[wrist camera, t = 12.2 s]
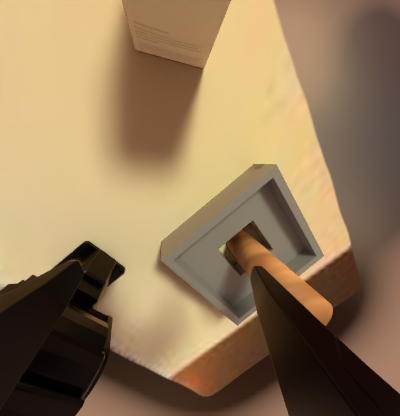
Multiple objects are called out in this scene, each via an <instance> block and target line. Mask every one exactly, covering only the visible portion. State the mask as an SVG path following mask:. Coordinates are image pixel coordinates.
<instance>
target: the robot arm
mask: <svg viewBox="0 0 400 416" xmlns="http://www.w3.org/2000/svg"><path fill="white" fill-rule="evenodd" d="M85 244H86V245H88V246H85ZM120 269H121V270H122V271H121V270H120ZM124 271H125V267H124V266H122V265H121V264H119V263H118V262H117V261H116V260H115V259H113V258H112V257H111V256H109V255H108V254H106V253H105V252H104V251H102V250H100V249H99V248H98V247H96V246H95V245H94V244H92V243H91V242H89V241H85V242H83V243H82V244H81V245H80V246H79V247H77V248H76V249H75V250H74V251H73V252H72V253H70V254H69V255H68V256H67V257H66V258H64V259H63V260H62V261H61V262H60V263H58V264H57V265H56V266H55V267H54V268H53V269H51V270H50V271H48V272H46V273H44V274H42V275H40V276H38V277H37V276H35V275H32V276H31V277H30V278H28V279H27V280H26V281H24V280H22V281H21V282H19V283H18V284H8V285H7V286H6V287H4V288H3V289H2V290H1V291H0V416H75V415H76V414H77V413H78V411H79V410H80V409H81V408H82V406H83V404H84V401H85V399H86V397H87V396H88V395H89V394H90V392H91V391H92V389H93V388H94V386H95V384H96V383H97V381H98V379H99V377H100V375H101V373H102V371H103V369H104V367H105V364H106V362H107V359H108V355H109V350H110V339H111V328H112V317H111V316H109V315H107V316H106V315H104V314H102V313H101V312H99V311H97V310H96V308H97V306H98V304H99V302H100V300H101V297H102V295H103V293H104V291H105V289H106V287H107V286H109V285H110V284H111V283H112V282H113V281H114V280H116V279H117V278H118V277H119V276H120V275H122V274H123V273H124ZM250 281H251V286H252V291H253V295H254V300H255V305H256V310H257V314H258V317H259V321H260V324H261V327H262V330H263V334H264V337H265V340H266V343H267V346H268V350H269V353H270V356H271V359H272V362H273V366H274V369H275V372H276V376H277V379H278V382H279V385H280V388H281V392H282V395H283V398H284V401H285V404H286V408H287V411H288V414H289V416H400V394H399V393H398V392H397V391H396V390H395V389H393V388H392V387H391V386H390V385H389V384H388V383H387V382H386V381H384V380H383V379H382V378H381V377H380V376H379V375H377V374H376V373H375V372H374V371H373V370H372V369H371V368H370V367H368V366H367V365H366V364H365V363H364V362H363V361H362V360H361V359H360V358H359V357H358V356H356V355H355V354H354V353H353V352H352V351H351V350H350V349H349V348H348V347H347V346H346V345H345V344H344V343H343V342H341V341H340V340H339V339H338V338H337V337H335V335H334V334H333V333H332V332H331V331H330V330H329V329H328V328H327V327H326V326H325V325H324V324H322V323H321V322H320V321H319V320H318V319H317V318H316V317H315V316H314V315H313V314H312V313H311V312H310V311H309V310H308V309H307V308H306V307H305V306H304V305H302V304H301V303H300V302H299V301H298V300H297V299H296V298H295V297H294V296H293V295H292V294H291V293H290V292H289V291H288V290H287V289H286V288H285V287H284V286H282V285H281V284H280V283H279V282H278V281H277V280H276V279H275V278H274V277H273V276H272V275H271V274H270V273H269V272H268V271H267V270H266V269H265V268H263V267H262V266H253V269H252V272H251V276H250Z"/></svg>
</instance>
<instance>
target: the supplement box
mask: <svg viewBox="0 0 400 416" xmlns="http://www.w3.org/2000/svg"><path fill="white" fill-rule="evenodd" d="M230 1H231V0H122V2H123V6H124V10H125V13H126V17H127V21H128V25H129V29H130V32H131V36H132V40H133V43H134V48H135V49H136V50H138V51H142V52H145V53H148V54H152V55H156V56H160V57H163V58H167V59H170V60H174V61H178V62H182V63H185V64H189V65H193V66H196V67H201V68H204V67H205V65H206V62H207V60H208V57H209V55H210V52H211V50H212V47H213V44H214V42H215V39H216V37H217V34H218V32H219V29H220V27H221V24H222V22H223V19H224V17H225V14H226V11H227V9H228V6H229V4H230Z"/></svg>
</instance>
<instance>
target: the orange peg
mask: <svg viewBox="0 0 400 416" xmlns="http://www.w3.org/2000/svg"><path fill="white" fill-rule="evenodd" d="M227 247H228V249H229V250H230V251H231V253H232V254H233V256H234V257H235V258H236V260H237V261H238V262H239V264H240V265H241V267H242V268H243V269H244V271H245V272H246V273H247V275H248V276H249V278H250V276H251V272H252V269H253V266H262V267H263V268H265V269H266V270H267V271H268V272H269V273H270V274H271V275H272V276H273V277H274V278H275V279H276V280H277V281H278V282H279V283H280V284H281V285H282V286H284V287H285V288H286V289H287V290H288V291H289V292H290V293H291V294H292V295H293V296H294V297H295V298H296V299H297V300H298V301H299V302H300V303H301V304H302V305H304V306H305V307H306V308H307V309H308V310H309V311H310V312H311V313H312V314H313V315H314V316H315V317H316V318H317V319H318V320H319V321H320V322H321V323H322V324H324V325H325V326H326V325H327V323H328V322H329V320H330V318H331V316H332V313H333V308H332V305H331V304H330V303H329V302H328V301H327V300H325V299H324V298H323V297H322V296H321V295H320V294H318V293H317V292H316V291H315V290H314V289H313V288H311V287H310V286H309V285H308V284H307V283H306V282H304V281H303V280H302V279H301V278H300V277H299V276H297V275H296V274H295V273H294V272H293V271H292V270H290V269H289V268H288V267H287V266H286V265H285V264H283V263H282V262H281V261H280V260H279V259H278V258H276V257H275V256H274V255H273V254H272V253H271V252H269V251H268V250H267V249H266V248H265V247H264V246H262V245H261V244H260V243H259V242H258V241H257V240H255V239H254V238H253V237H252V236H251V235H250V234H248V233H247V232H246V231H244V230H240V231H239V232H238V233H237V234H236V235H234V236H233V237H232V238H231V239H229V240H228V241H227Z"/></svg>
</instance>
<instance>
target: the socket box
mask: <svg viewBox="0 0 400 416" xmlns="http://www.w3.org/2000/svg"><path fill="white" fill-rule="evenodd" d="M249 223H251V225H252V226H253V227H254V229H255V230H256V232H257V233H258V234H259V236H260V237H261V239H262V240H263V242H262V243H261V245H262V246H264V247H265V248H266V249H267V250H268V251H269V252H271V253H272V254H273V255H274V256H275V257H276V258H278V259H279V260H280V261H281V262H282V263H283V264H285V265H286V266H287V267H288V268H289V269H290V270H292V271H293V272H294V273H295V274H296V275H297V276H300V275H301V274H302V273H303V272H305V271H306V270H307V269H308V268H310V267H311V266H312V265H313V264H314V263H316V262H317V261H318V260H319V259H321V258H322V257H323V256H324V255H323V253H322V251H321V249H320V247H319V245H318V243H317V242H316V240H315V238H314V236H313V234H312V232H311V230H310V228H309V226H308V224H307V222H306V220H305V218H304V217H303V215H302V213H301V211H300V209H299V207H298V205H297V203H296V201H295V199H294V197H293V195H292V194H291V192H290V190H289V188H288V186H287V184H286V182H285V180H284V178H283V176H282V174H281V172H280V171H279V169H278V167H277V165H274V164H254V165H253V166H251V167H250V168H249V169H248V170H247V171H245V172H244V173H243V174H242V175H241V176H239V177H238V178H237V179H236V180H235V181H233V182H232V183H231V184H230V185H229V186H227V187H226V188H225V189H224V190H223V191H221V192H220V193H219V194H218V195H217V196H215V197H214V198H213V199H212V200H211V201H209V202H208V203H207V204H206V205H205V206H203V207H202V208H201V209H200V210H199V211H197V212H196V213H195V214H194V215H193V216H191V217H190V218H189V219H188V220H187V221H185V222H184V223H183V224H182V225H181V226H179V227H178V228H177V229H176V230H175V231H173V232H172V233H171V234H170V235H169V236H167V237H166V238H165V239H164V240H163V241H162V246H161V261H162V262H163V263H164V264H165V265H166V266H168V267H169V268H170V269H171V270H172V271H173V272H175V273H176V274H177V275H178V276H179V277H181V278H182V279H183V280H184V281H185V282H186V283H188V284H189V285H190V286H191V287H192V288H194V289H195V290H196V291H197V292H198V293H200V294H201V295H202V296H203V297H204V298H205V299H207V300H208V301H209V302H210V303H211V304H213V305H214V306H215V307H216V308H217V309H218V310H220V311H221V312H222V313H223V314H224V315H226V316H227V317H228V318H229V319H230V320H231V321H233V322H234V323H235V324H236V325H237V326H238V325H239V324H240V323H241V322H242V321H244V320H245V319H246V318H247V317H249V316H250V315H251V314H252V313H254V312H255V311H256V305H255V300H254V295H253V291H252V286H251V281H250V278H249V276H248V275H247V273H246V272H245V271H244V269H243V268H242V267H241V265H240V264H239V262H237V263H236V264H235V265H234V266H233V264H232V263H231V262H230V261H229V260H228V259H227V258H226V257H225V256H224V255H223V253H222V252H221V251H220V250H219V248H220V247H221V246H222V245H223V244H225V243H226V242H227V241H228V240H229V239H231V238H232V237H233V236H234V235H236V234H237V233H238V232H239V231H240V230H242V229H243V228H244V227H245V226H246V225H248V224H249Z"/></svg>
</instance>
